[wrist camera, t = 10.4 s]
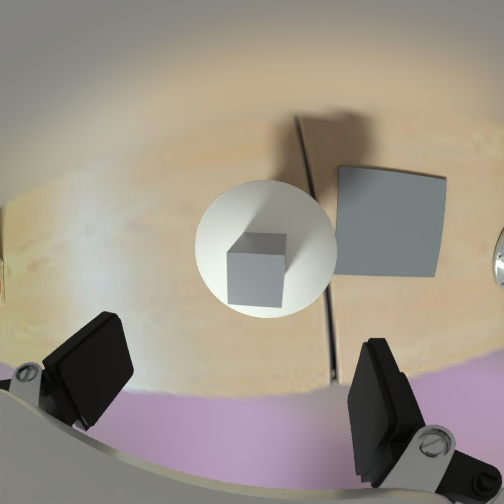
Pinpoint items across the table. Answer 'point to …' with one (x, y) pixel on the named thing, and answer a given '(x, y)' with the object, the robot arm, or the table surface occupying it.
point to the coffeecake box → (1, 284)
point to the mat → (388, 223)
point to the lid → (266, 248)
